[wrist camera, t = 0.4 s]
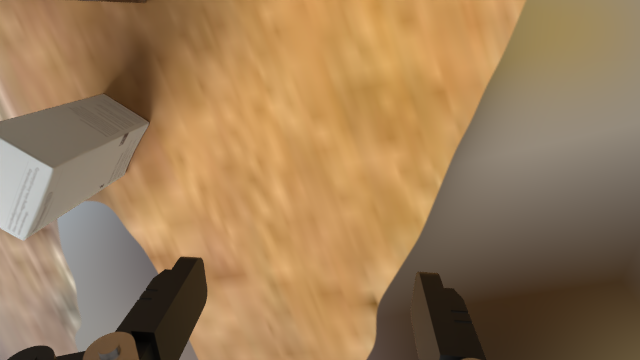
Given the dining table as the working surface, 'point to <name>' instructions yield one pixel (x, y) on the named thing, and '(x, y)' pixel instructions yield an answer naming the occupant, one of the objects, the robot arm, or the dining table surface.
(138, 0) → the box
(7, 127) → the skincare box
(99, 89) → the dining table surface
